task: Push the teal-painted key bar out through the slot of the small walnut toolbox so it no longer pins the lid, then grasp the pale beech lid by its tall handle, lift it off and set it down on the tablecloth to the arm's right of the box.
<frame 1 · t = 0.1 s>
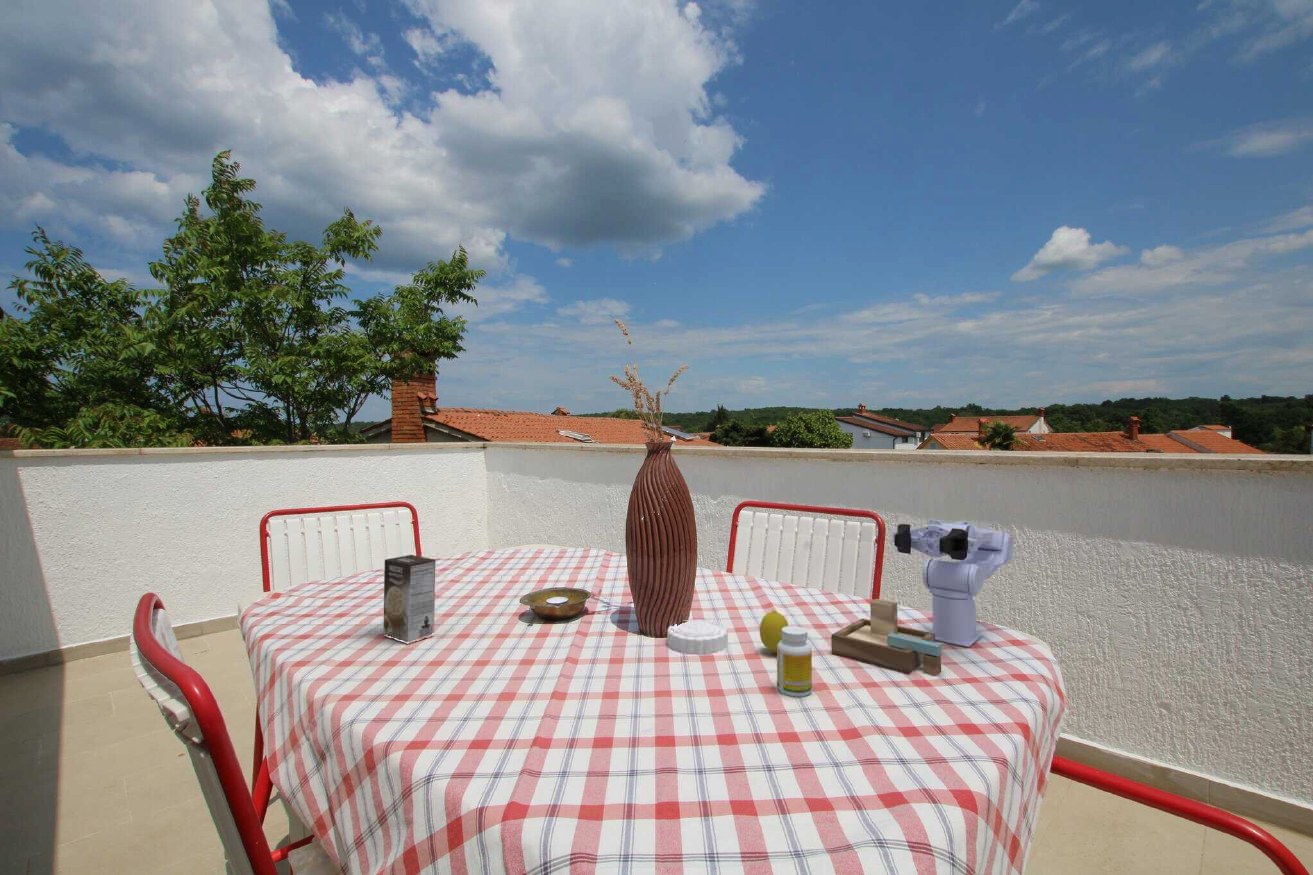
hand: (918, 542, 98), 22 cm above the table, tool horizontal, fingers open, 7 cm apart
supplement bottle: (794, 691, 87), on the table
toolbox: (883, 653, 103), on the table
mooncake: (697, 645, 109), on the table
coffee box: (408, 637, 113), on the table
lemon: (774, 654, 103), on the table
lid: (883, 641, 103), point 2 cm above the table, touching toolbox
key: (913, 644, 96), point 4 cm above the table, slide at 0.0 cm
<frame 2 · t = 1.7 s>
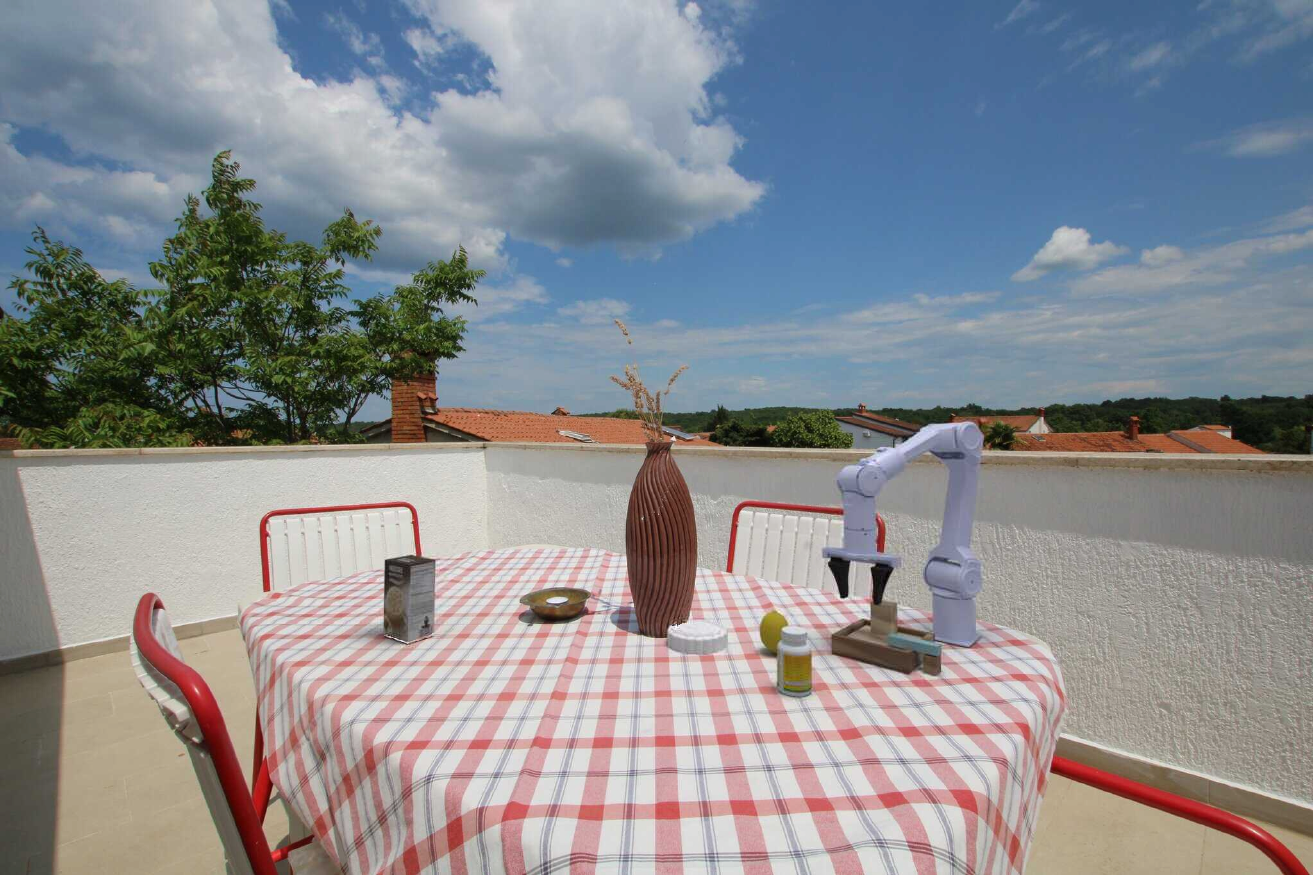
hand: (860, 600, 103), 10 cm above the table, tool pointing down, fingers open, 6 cm apart
nothing on the table moved.
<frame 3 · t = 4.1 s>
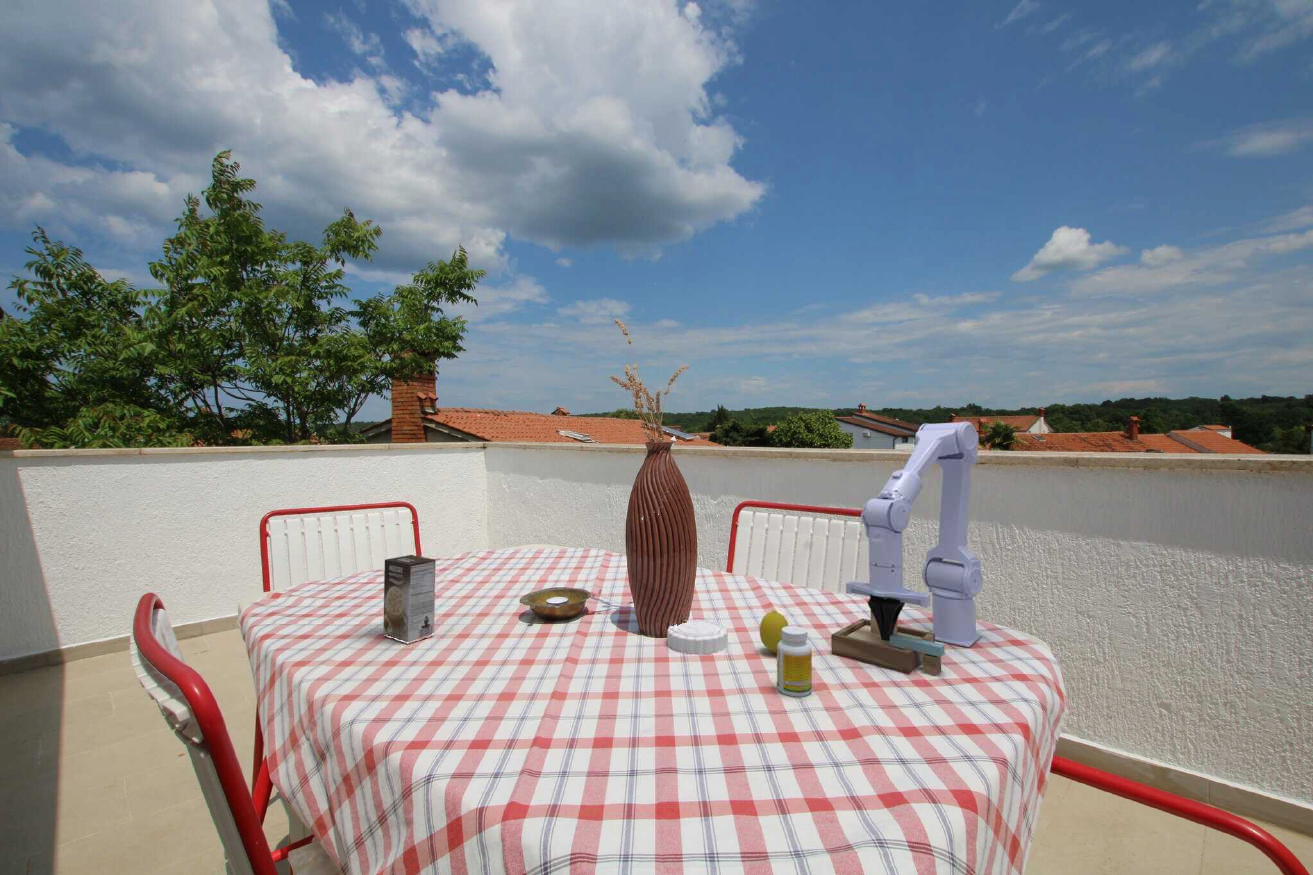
hand: (886, 639, 100), 4 cm above the table, tool pointing down, fingers closed
key: (916, 644, 96), point 4 cm above the table, slide at 0.5 cm, touching gripper
everything else where it was.
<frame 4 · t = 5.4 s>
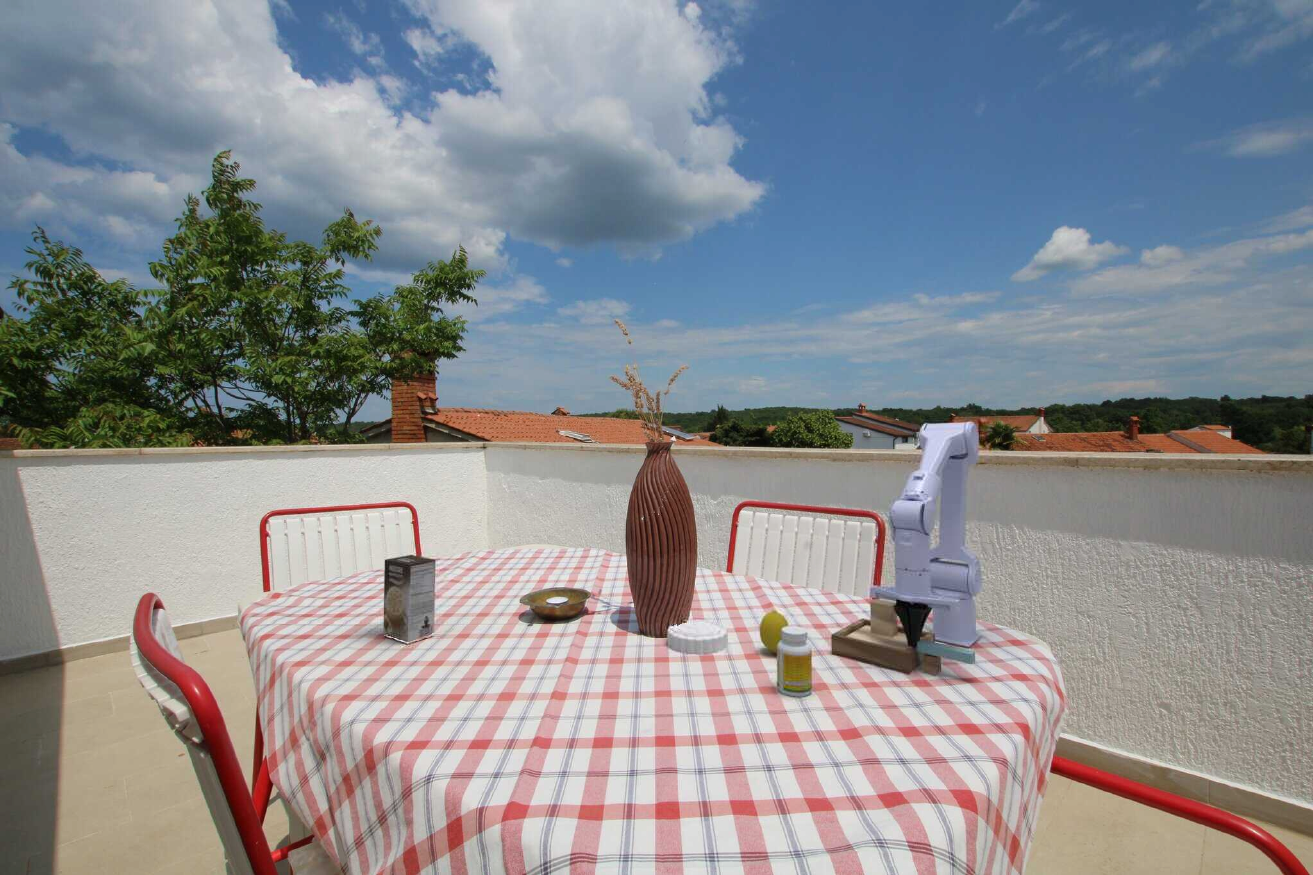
hand: (913, 645, 96), 4 cm above the table, tool pointing down, fingers closed
key: (945, 651, 93), point 4 cm above the table, slide at 5.2 cm, touching gripper
everything else where it was.
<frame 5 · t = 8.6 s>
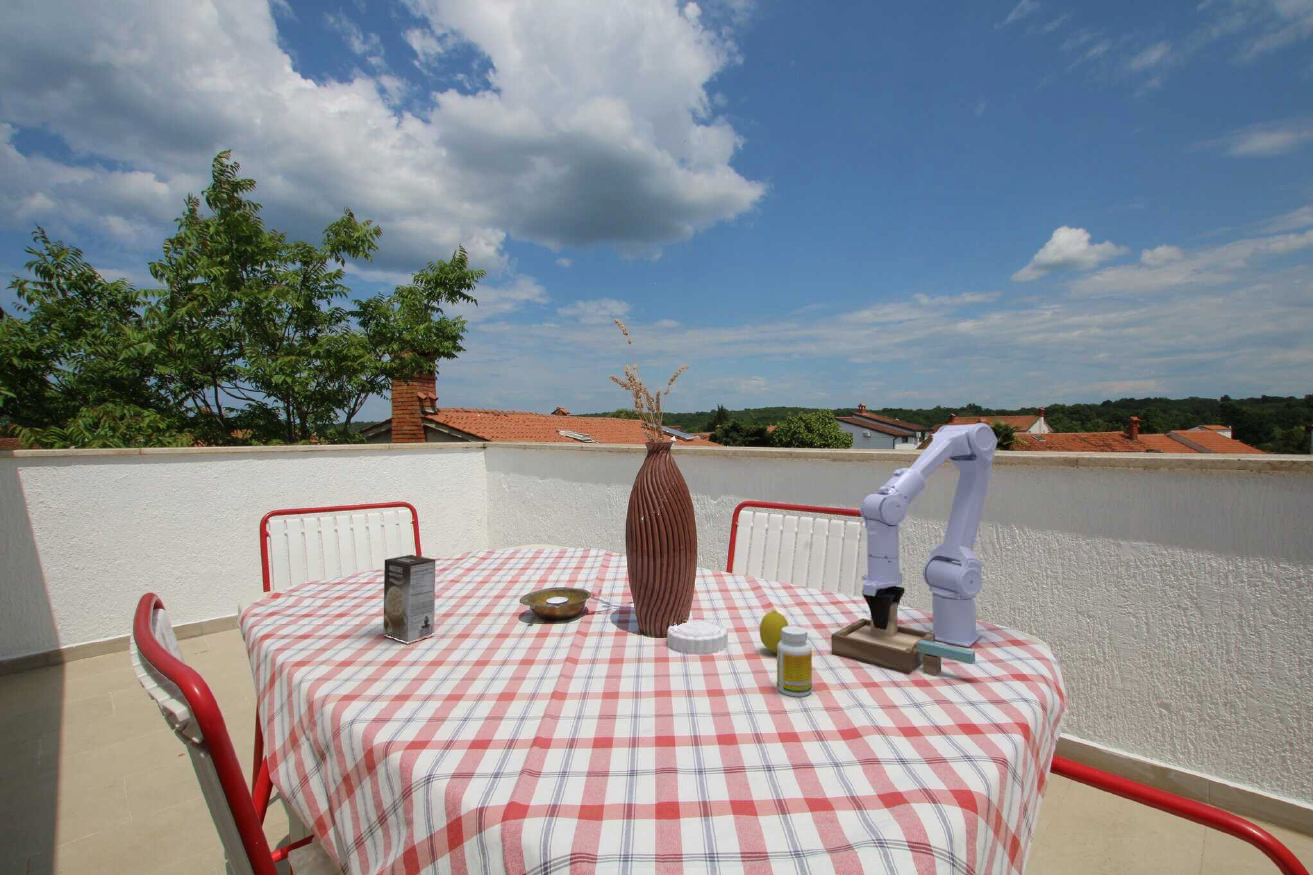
hand: (884, 626, 106), 4 cm above the table, tool pointing down, fingers closed on lid, 3 cm apart
lid: (883, 641, 103), point 2 cm above the table, touching gripper, toolbox
key: (945, 651, 93), point 4 cm above the table, slide at 5.2 cm
everything else where it was.
when the fingers open (4 cm above the table, at t = 11.8 s): lid drops 2 cm, on the table.
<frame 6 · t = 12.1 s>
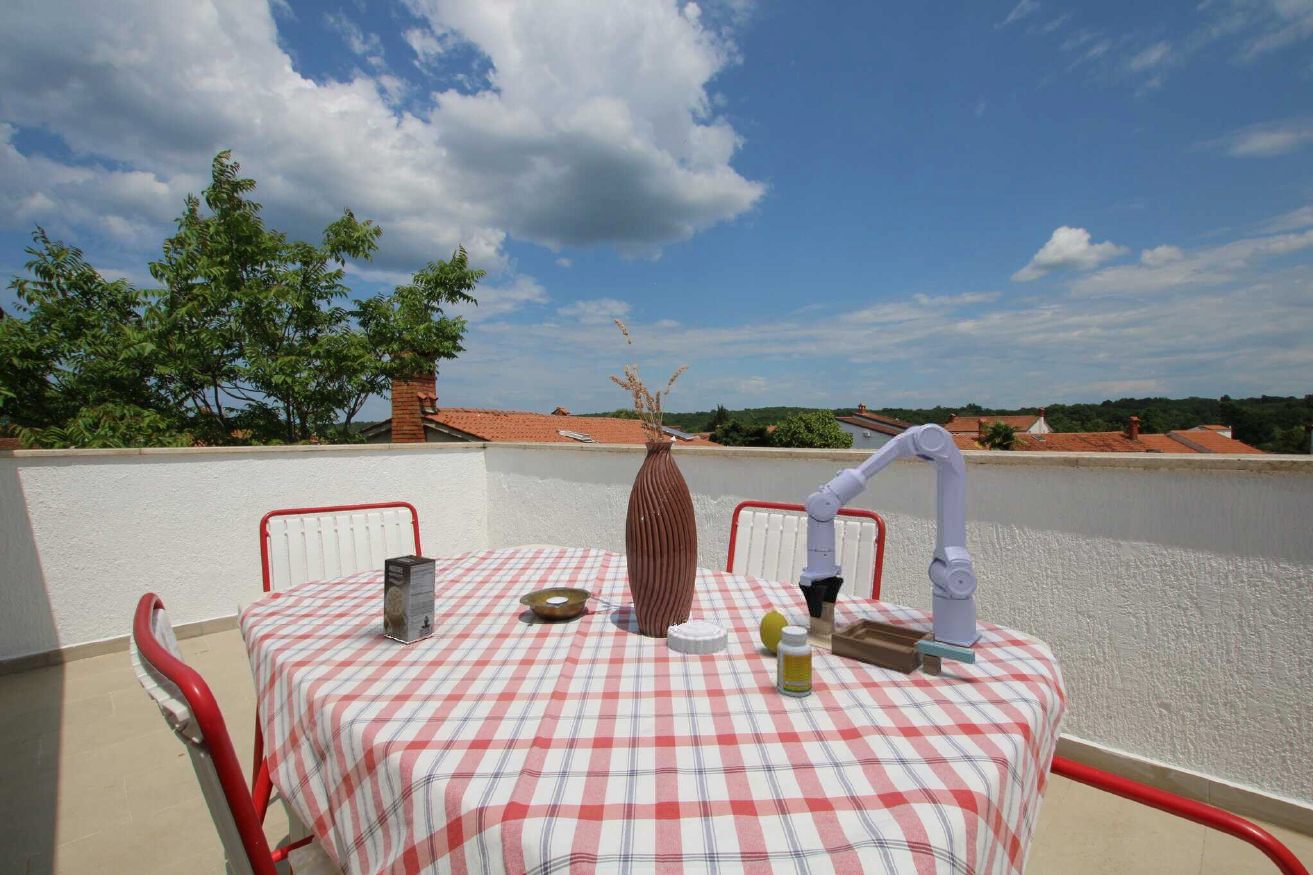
hand: (821, 614, 115), 4 cm above the table, tool pointing down, fingers open, 5 cm apart
lid: (820, 639, 112), on the table
everything else where it was.
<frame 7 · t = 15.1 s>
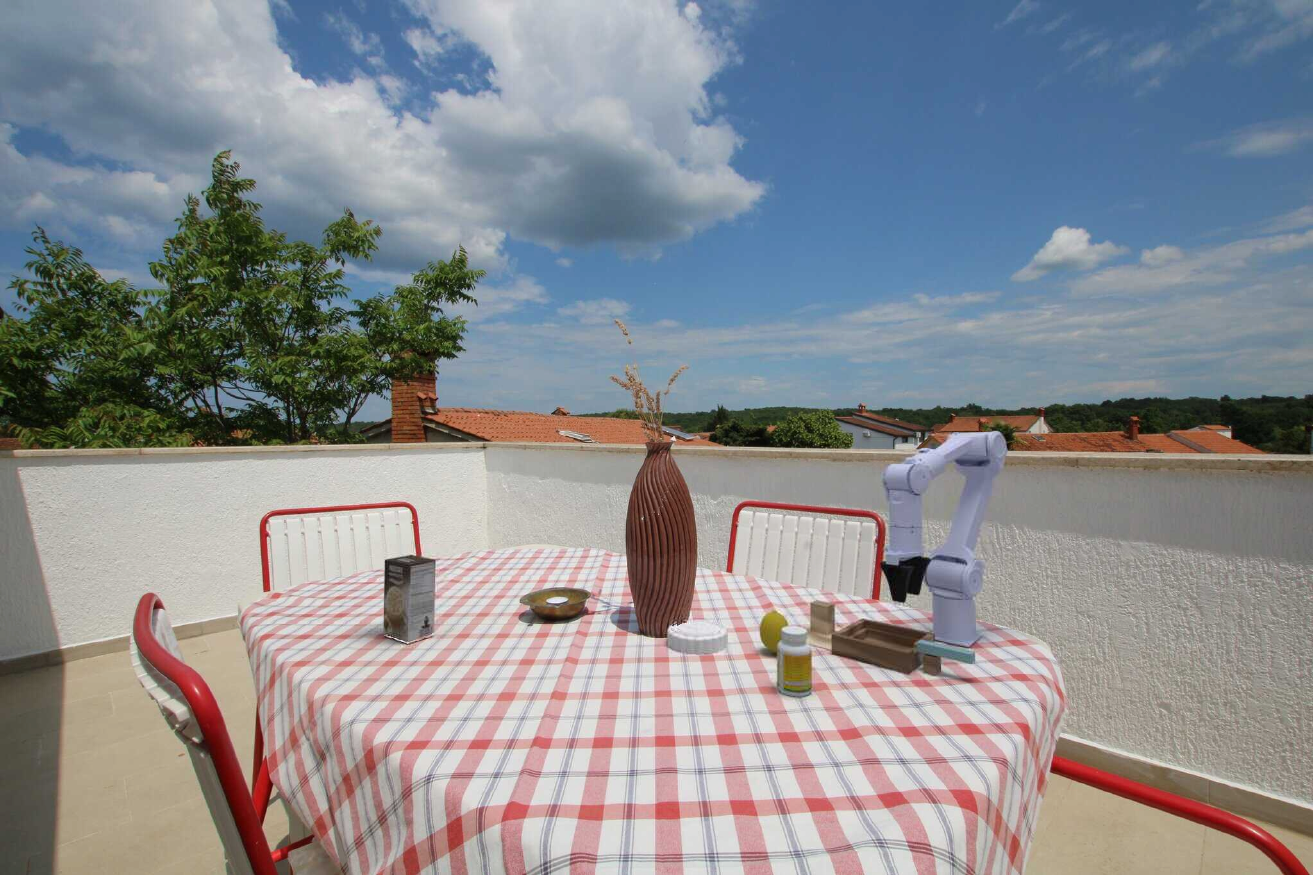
hand: (906, 597, 104), 10 cm above the table, tool pointing down, fingers open, 7 cm apart
nothing on the table moved.
at the end: key slide at 5.2 cm; lid inside the target area (2.8 cm from its centre), on the table; the gripper is holding nothing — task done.
